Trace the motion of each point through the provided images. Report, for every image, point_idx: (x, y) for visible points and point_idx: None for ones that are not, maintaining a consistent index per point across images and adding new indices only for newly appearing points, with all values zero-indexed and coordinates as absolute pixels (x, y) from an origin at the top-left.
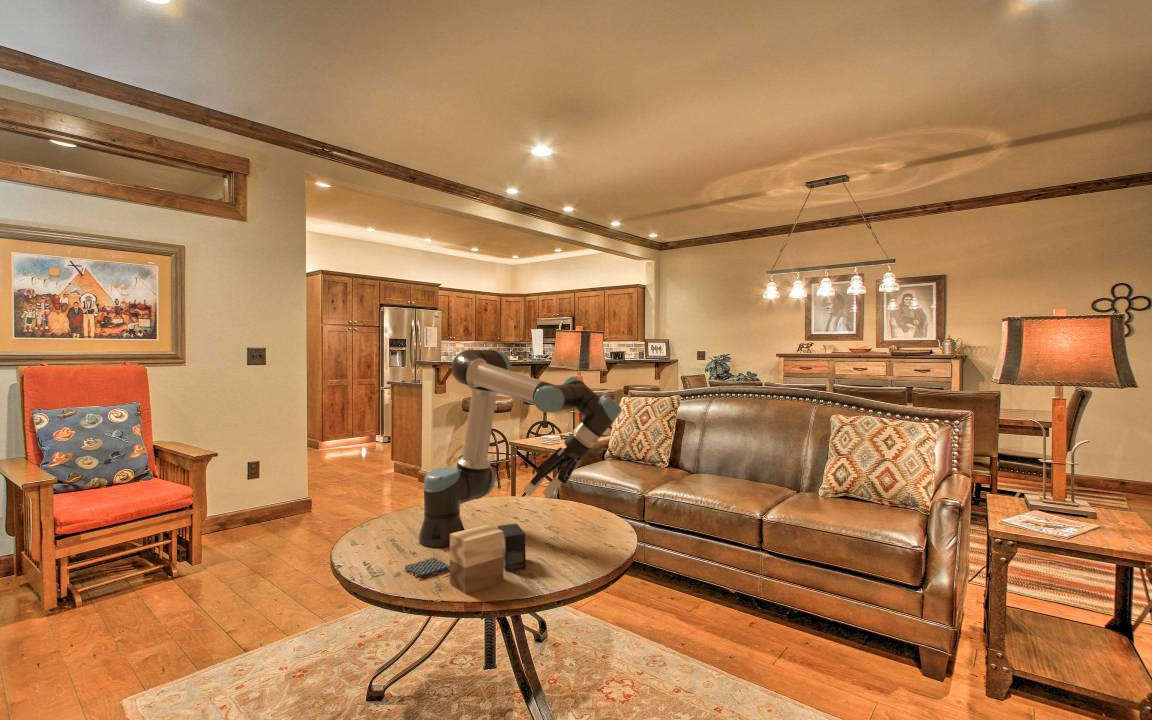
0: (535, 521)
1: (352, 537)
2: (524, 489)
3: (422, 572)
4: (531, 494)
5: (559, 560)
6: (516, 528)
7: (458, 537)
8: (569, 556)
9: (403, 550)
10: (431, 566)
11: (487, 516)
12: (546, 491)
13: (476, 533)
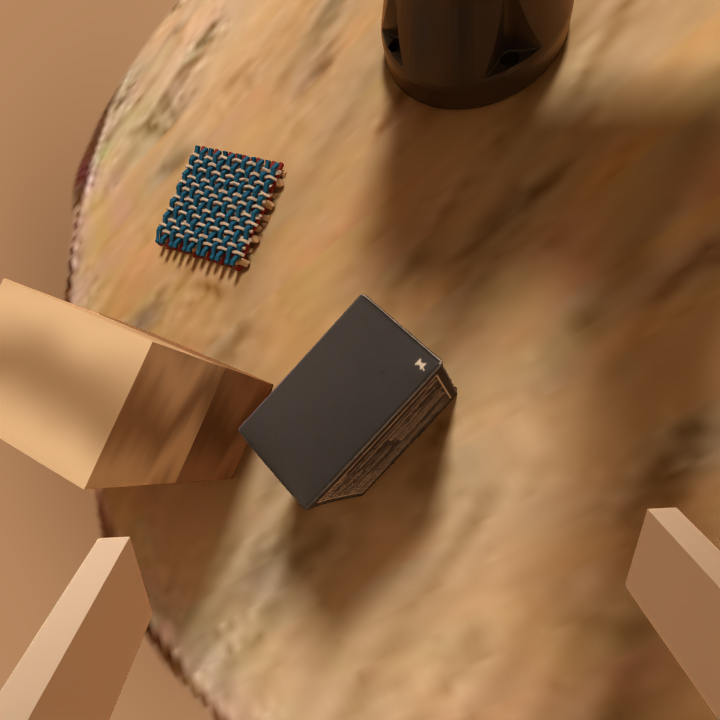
0: None
1: None
2: (96, 559)
3: (168, 226)
4: (141, 638)
5: (508, 598)
6: (354, 418)
7: None
8: (583, 627)
9: (327, 24)
10: (212, 214)
11: None
12: (669, 572)
13: (27, 383)
